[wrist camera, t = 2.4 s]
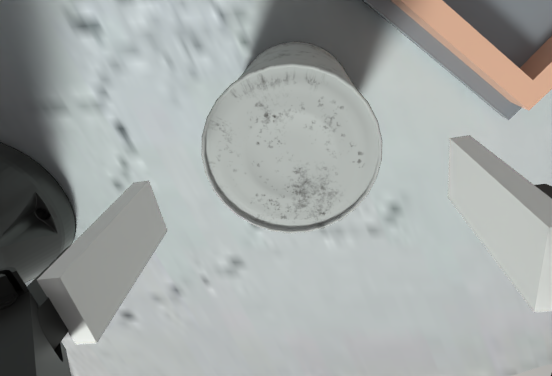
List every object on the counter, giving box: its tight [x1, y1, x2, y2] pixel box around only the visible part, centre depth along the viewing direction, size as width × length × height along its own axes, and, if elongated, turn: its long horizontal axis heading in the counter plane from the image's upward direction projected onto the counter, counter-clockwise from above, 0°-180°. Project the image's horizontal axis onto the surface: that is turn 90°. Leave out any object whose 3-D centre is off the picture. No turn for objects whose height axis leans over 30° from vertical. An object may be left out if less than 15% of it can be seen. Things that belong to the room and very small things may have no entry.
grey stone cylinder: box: [201, 42, 382, 233], centre depth 24 cm, size 10×10×12 cm
